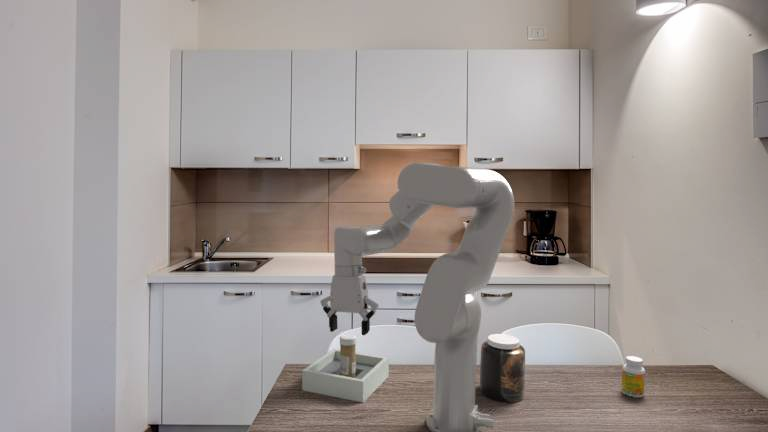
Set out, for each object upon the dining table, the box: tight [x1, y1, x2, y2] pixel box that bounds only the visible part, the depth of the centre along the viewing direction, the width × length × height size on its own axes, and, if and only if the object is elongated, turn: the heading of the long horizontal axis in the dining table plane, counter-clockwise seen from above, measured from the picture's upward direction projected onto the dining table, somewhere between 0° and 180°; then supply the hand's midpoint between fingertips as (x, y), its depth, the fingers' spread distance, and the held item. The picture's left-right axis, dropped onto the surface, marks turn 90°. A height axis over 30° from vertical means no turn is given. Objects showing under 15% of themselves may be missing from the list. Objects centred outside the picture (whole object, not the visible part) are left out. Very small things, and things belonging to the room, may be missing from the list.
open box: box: [301, 348, 390, 403], centre depth 132 cm, size 18×18×6 cm
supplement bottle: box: [621, 355, 646, 398], centre depth 128 cm, size 5×5×10 cm
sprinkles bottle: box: [339, 333, 357, 378], centre depth 132 cm, size 5×5×14 cm
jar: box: [479, 333, 526, 404], centre depth 127 cm, size 12×12×15 cm
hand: (349, 332), depth 131 cm, fingers open, 9 cm apart
